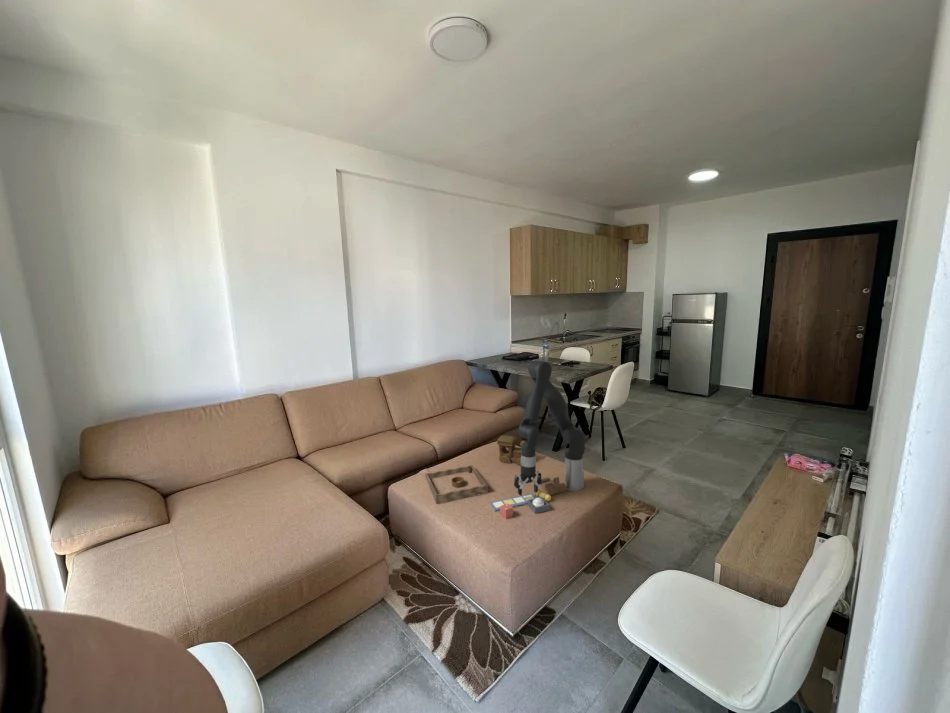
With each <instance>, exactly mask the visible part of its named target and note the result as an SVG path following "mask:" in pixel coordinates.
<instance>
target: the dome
mask: <svg viewBox="0 0 950 713" xmlns="http://www.w3.org/2000/svg"><path fill="white" fill-rule="evenodd" d="M533 505H534V506H535V507H538V506H543V505H544V501H543V500H542V499H541V498H535V499H534V500H533Z"/></svg>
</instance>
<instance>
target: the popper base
mask: <svg viewBox="0 0 950 713" xmlns="http://www.w3.org/2000/svg"><path fill="white" fill-rule="evenodd" d="M539 498H541V499H542V500H543V501H544V505H543V506H538V507H535V506H534V505H533V500H534V499H535V498H534V499H530V500H527V505H528V506H529V507H528V506H527V507H528V508H529V509H530V510H531V511H532V512H533V513H534V514H540V513H544V512H548V511H550V508H551V505H550V503H548V501H546V500H544V499H543V498H542V497H539Z"/></svg>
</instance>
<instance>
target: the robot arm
mask: <svg viewBox="0 0 950 713" xmlns="http://www.w3.org/2000/svg"><path fill="white" fill-rule="evenodd" d="M552 369H553V367H552V364H550V362H548V361H545V360H538V359H535V360H532V361H531V362H529V364H528V368H527V370H528V374H529V375H530V378H531V379H532V380H533V382H534V383H535V385H534V388H533V390H532V393H531V394H530V396H529V397H528V399H527V403H526V405H525V406H526V407H525V409H524V410H525V411H524V415H523V418H522V419H521V422H520V424H519V426H518V434H519V437H521V438H523V439H526V440H527V441H526V442H525V443H523V444H522V447H521V446H520V448H521V466H520V475H517V474H516V475H515V476H514V483H513V486H514V487H515V488H516V489H517V493H518V495H519V496H522V495H523V489H522V488H523V487H524V486H525V485H526V484H529V483H530V484H531V483H533V492H534V493H535V494H536V493H537V491H538V490H539V485H540V484H541V483H542V480H541V479H542V473H541V472H540V471H536V470H537V468H536V467H537V465H536V464H537V457H536V447H537V443H538V441H539V437H540V432H539V428H537V426H533V425H531V424H532V422H537V421H538V420H539V416H540V411H541V406H542V402H543V400H544V401H545V403H546V405H547V407H548V410H549V411H550V413H551V416H552V417H553V418H554V419H553V420H555V422H556V424H557V426H558V429H559V432H560V433H561V436H562V439H563V440H564V441H565V442H566V443H567V444H568V449H566V450H565V452H564V483H565V485H566V488H567V489H566V490H568V491H572V492H577V491H578V492H579V491H580V490H582V489H583V488H584V487H585V486H584V485H585V471H584V470H583V468H584V467H583V463H584V462H583V460H584V454H585V445H586V434H585V433H584V432H583V431H582V430H581V429H579V428H577V427H576V425H574V424H573V422H572V420H571V417H570V416H569V408H568V407H569V406H568V404H567V402H566V400H565V397H564V396H563V394H562V393H561V391H559V389H558V388H557V387H556V386H555V385H554V384H553V383H552V382H551V381H550V379H551V376H552V371H553V370H552ZM535 478H536V479H535Z"/></svg>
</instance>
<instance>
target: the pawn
mask: <svg viewBox="0 0 950 713" xmlns="http://www.w3.org/2000/svg"><path fill="white" fill-rule="evenodd" d="M535 497H536V498H539V497H542V498H543V499H544V500H545V501H546V502H550V501H551V500H552V495H549V494H548V493H545V492H543V491H542V489H539V488H538V491H537V493H535Z"/></svg>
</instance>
